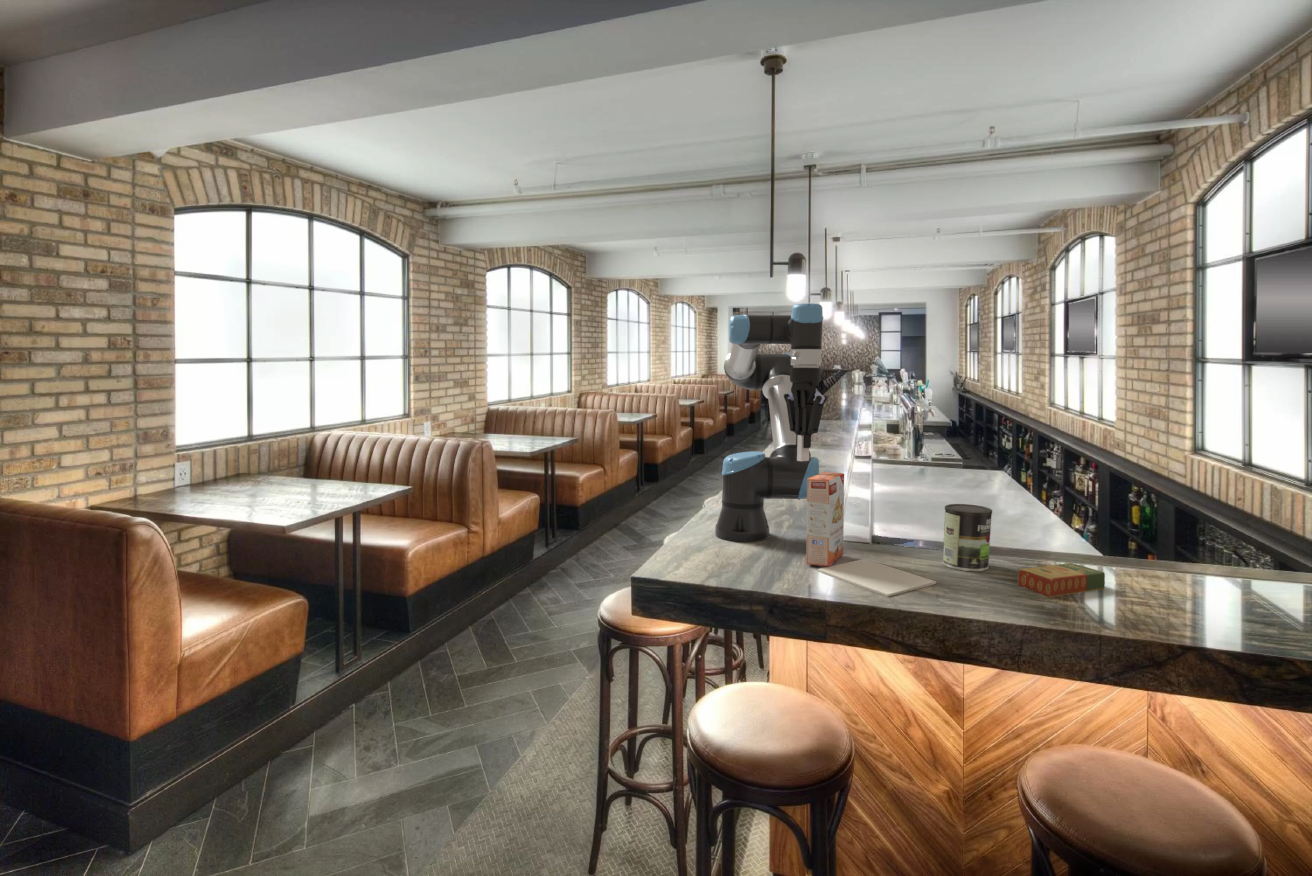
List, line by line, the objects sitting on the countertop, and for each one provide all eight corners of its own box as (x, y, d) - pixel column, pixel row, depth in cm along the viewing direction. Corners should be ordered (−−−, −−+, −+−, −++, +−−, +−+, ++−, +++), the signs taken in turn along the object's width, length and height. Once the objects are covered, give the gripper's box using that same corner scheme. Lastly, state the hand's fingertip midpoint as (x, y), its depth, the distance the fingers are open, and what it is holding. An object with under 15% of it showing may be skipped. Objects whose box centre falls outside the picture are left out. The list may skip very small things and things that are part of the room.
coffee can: (996, 566, 160) (999, 508, 159) (977, 574, 153) (981, 514, 152) (953, 556, 168) (956, 501, 166) (934, 564, 161) (936, 507, 160)
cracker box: (830, 567, 156) (830, 479, 155) (805, 565, 159) (805, 478, 158) (845, 554, 169) (845, 472, 167) (821, 552, 171) (821, 471, 170)
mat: (817, 571, 156) (817, 569, 156) (864, 560, 164) (864, 558, 164) (887, 596, 139) (887, 594, 139) (936, 583, 147) (936, 581, 147)
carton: (1016, 586, 146) (1017, 567, 146) (1069, 579, 152) (1070, 560, 152) (1050, 598, 139) (1051, 578, 138) (1105, 590, 144) (1106, 571, 144)
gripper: (776, 366, 170) (774, 458, 172) (813, 367, 159) (810, 465, 161) (798, 366, 174) (795, 456, 176) (835, 367, 163) (832, 462, 165)
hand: (802, 460), depth 169 cm, fingers closed
